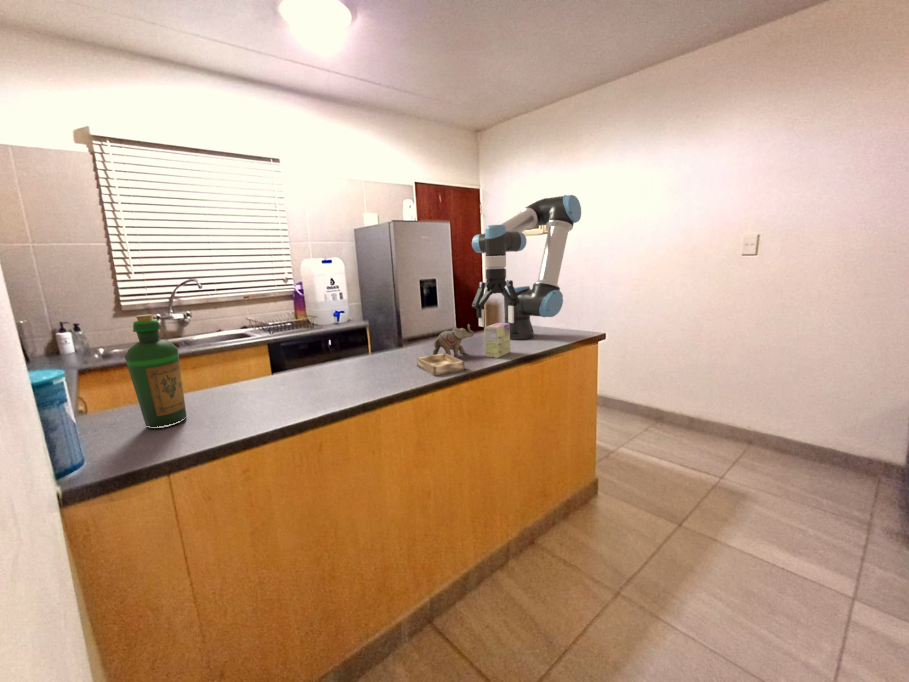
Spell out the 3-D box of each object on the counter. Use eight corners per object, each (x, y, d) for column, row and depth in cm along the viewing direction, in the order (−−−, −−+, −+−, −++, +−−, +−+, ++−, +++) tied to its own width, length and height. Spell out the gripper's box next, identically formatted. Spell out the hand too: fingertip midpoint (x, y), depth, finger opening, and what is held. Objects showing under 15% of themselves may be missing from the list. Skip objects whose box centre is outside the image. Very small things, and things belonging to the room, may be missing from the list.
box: (497, 351, 161) (497, 322, 158) (510, 352, 157) (510, 323, 155) (484, 357, 153) (483, 326, 150) (497, 358, 149) (497, 327, 147)
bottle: (183, 428, 98) (160, 316, 92) (133, 435, 95) (106, 320, 89) (197, 412, 108) (177, 310, 102) (152, 418, 105) (128, 314, 99)
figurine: (467, 367, 152) (475, 330, 147) (430, 360, 152) (437, 323, 147) (467, 359, 161) (475, 324, 157) (433, 352, 161) (439, 317, 156)
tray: (445, 360, 149) (445, 353, 149) (464, 369, 137) (464, 361, 136) (417, 366, 144) (416, 358, 143) (434, 375, 131) (433, 367, 131)
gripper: (516, 266, 157) (516, 319, 161) (461, 269, 145) (463, 326, 150) (528, 266, 150) (528, 322, 155) (472, 269, 139) (473, 329, 143)
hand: (496, 324), depth 152 cm, fingers open, 13 cm apart
